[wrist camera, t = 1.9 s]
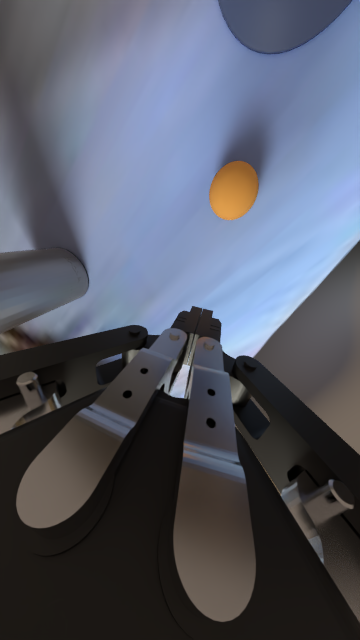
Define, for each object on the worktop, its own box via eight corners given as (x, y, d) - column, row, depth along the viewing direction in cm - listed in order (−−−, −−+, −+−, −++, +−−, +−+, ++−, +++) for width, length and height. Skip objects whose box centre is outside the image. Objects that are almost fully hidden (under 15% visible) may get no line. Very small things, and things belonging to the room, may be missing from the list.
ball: (217, 227, 22) (214, 226, 18) (206, 183, 20) (200, 170, 16) (258, 210, 20) (267, 204, 16) (250, 160, 18) (257, 138, 14)
